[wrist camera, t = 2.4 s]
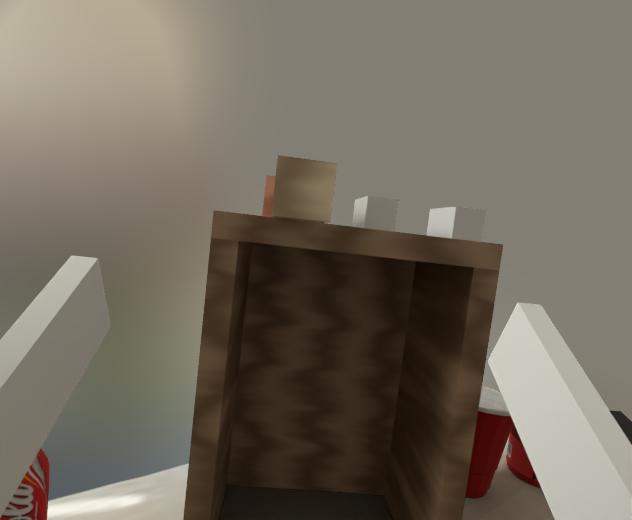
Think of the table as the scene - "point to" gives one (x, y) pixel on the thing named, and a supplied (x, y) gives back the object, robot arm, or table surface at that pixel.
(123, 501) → the table surface
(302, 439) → the wooden tower
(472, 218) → the twin white cubes
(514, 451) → the canned food
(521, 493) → the table surface
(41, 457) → the soda can
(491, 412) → the plastic cup
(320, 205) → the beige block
